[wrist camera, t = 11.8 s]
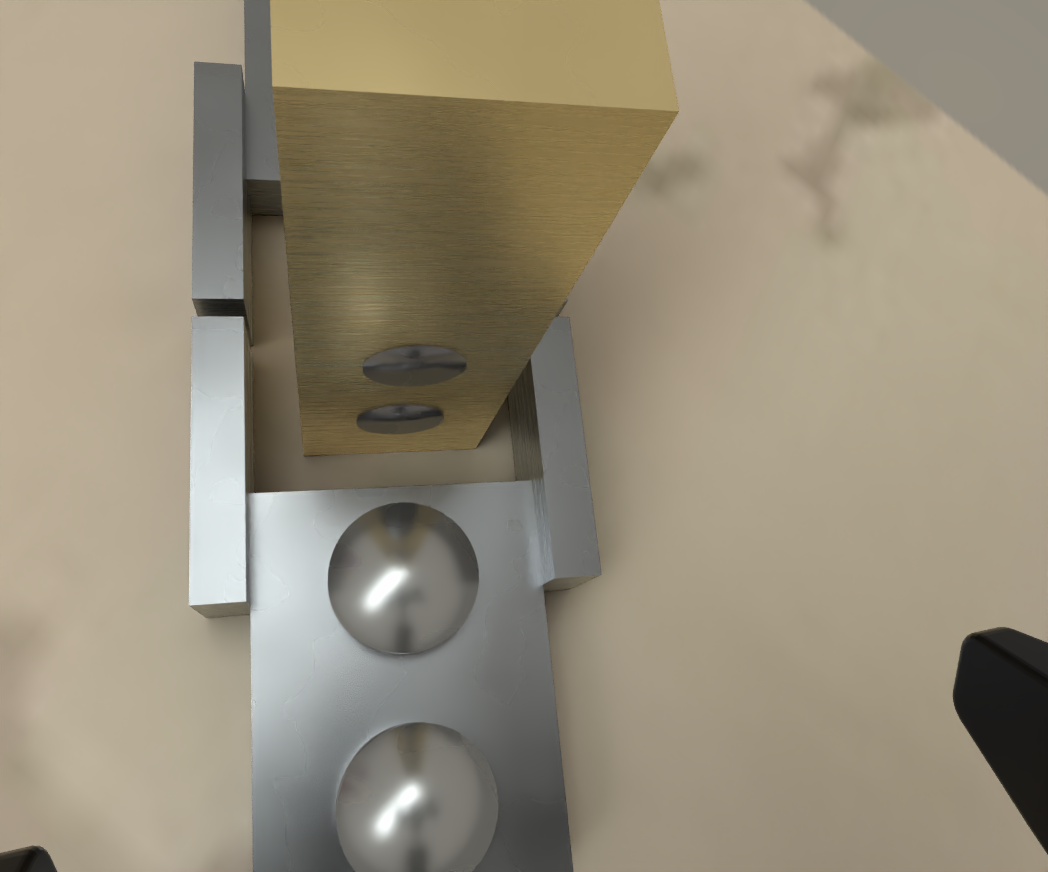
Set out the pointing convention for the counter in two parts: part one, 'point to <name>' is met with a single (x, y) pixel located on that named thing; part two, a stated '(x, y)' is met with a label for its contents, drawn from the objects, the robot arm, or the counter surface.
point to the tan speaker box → (448, 195)
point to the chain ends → (377, 578)
